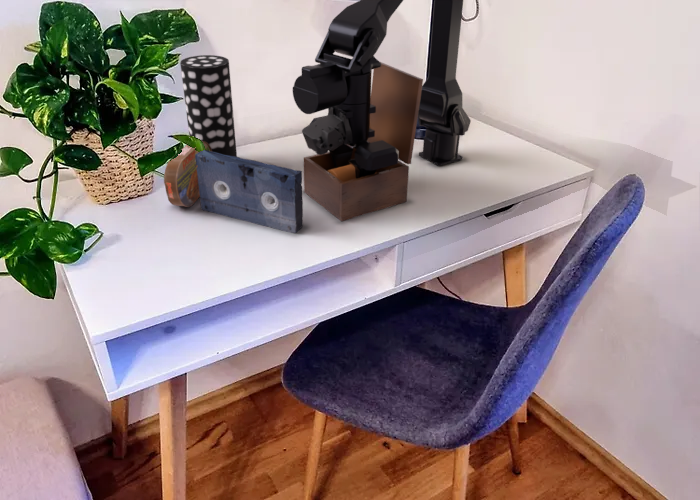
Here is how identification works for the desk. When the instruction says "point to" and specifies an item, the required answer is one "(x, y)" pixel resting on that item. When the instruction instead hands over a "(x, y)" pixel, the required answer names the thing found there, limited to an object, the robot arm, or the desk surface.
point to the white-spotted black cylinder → (209, 101)
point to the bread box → (354, 187)
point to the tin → (183, 177)
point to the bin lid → (395, 108)
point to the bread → (344, 173)
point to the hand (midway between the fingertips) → (351, 187)
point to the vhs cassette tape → (250, 190)
